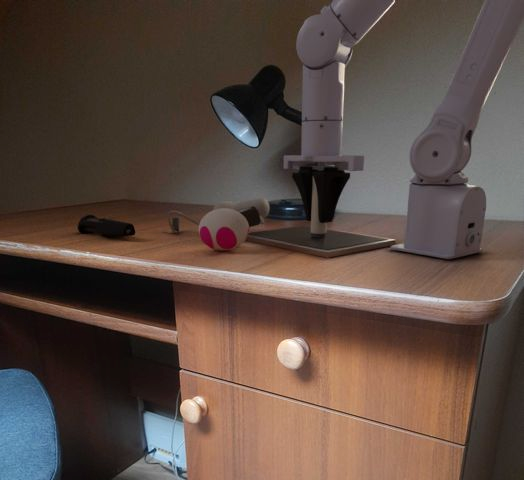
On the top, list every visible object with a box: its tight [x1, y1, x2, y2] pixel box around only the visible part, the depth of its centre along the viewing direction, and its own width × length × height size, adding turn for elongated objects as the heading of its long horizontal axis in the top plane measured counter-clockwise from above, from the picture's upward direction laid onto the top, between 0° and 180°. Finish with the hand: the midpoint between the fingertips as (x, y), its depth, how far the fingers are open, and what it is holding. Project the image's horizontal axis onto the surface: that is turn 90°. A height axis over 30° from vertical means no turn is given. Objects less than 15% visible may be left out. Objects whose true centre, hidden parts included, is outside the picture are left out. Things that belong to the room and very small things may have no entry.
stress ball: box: [197, 208, 250, 254], centre depth 70 cm, size 8×8×7 cm
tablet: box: [245, 225, 397, 259], centre depth 76 cm, size 20×14×1 cm
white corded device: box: [167, 196, 271, 234], centre depth 84 cm, size 12×6×18 cm
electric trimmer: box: [77, 214, 136, 238], centre depth 83 cm, size 4×16×3 cm, turn 45°
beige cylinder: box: [310, 177, 328, 238], centre depth 73 cm, size 2×2×9 cm
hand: (319, 221), depth 74 cm, fingers closed on beige cylinder, 2 cm apart
